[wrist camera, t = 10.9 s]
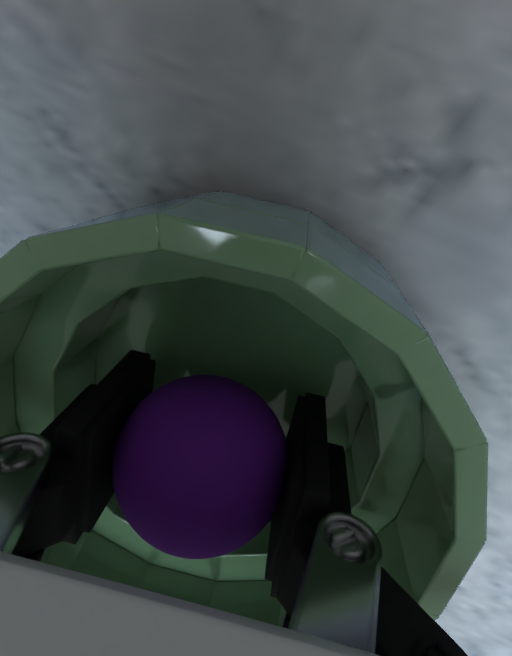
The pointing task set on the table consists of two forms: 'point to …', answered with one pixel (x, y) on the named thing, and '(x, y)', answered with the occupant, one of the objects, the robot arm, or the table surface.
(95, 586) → the robot arm
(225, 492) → the ball
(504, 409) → the table surface
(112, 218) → the green bowl
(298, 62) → the table surface
